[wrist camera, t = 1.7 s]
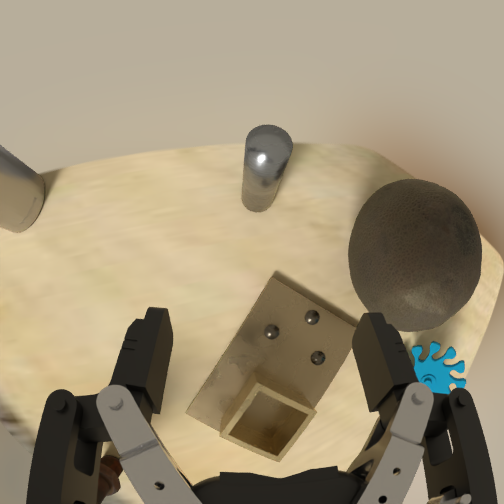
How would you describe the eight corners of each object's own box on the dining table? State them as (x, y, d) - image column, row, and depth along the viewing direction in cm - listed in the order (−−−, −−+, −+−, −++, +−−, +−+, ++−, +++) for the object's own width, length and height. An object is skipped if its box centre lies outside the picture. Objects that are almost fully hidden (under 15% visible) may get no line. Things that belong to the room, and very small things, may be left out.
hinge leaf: (186, 410, 28) (178, 429, 23) (271, 277, 31) (278, 272, 26) (276, 454, 27) (283, 477, 22) (358, 330, 31) (379, 334, 25)
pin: (235, 201, 32) (236, 149, 20) (252, 177, 33) (261, 117, 21) (262, 218, 32) (278, 172, 20) (278, 193, 33) (300, 139, 21)
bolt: (91, 443, 26) (32, 497, 11) (124, 447, 26) (73, 513, 11) (103, 476, 25) (56, 535, 10) (135, 481, 25) (97, 549, 11)
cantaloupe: (433, 244, 33) (514, 216, 18) (398, 343, 31) (485, 359, 16) (350, 190, 33) (413, 126, 19) (303, 294, 31) (361, 287, 16)
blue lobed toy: (395, 340, 29) (474, 347, 22) (405, 330, 33) (472, 335, 27) (380, 420, 29) (451, 431, 22) (392, 402, 33) (455, 410, 26)
